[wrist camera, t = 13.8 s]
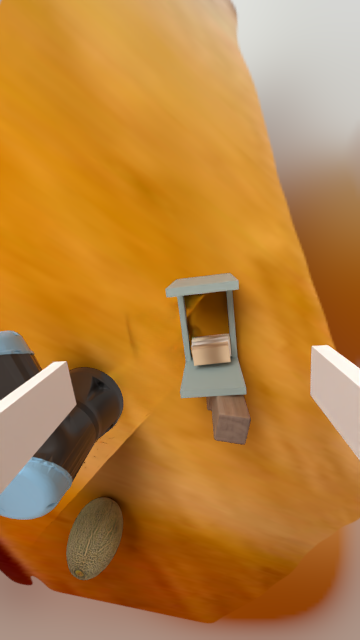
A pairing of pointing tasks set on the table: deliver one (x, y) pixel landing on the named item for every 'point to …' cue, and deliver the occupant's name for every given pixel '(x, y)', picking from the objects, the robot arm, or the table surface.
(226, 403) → the wooden block
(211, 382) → the rack
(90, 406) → the robot arm
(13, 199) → the table surface
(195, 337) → the offcut low
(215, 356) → the offcut top
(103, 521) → the fruit
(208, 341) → the offcut mid
